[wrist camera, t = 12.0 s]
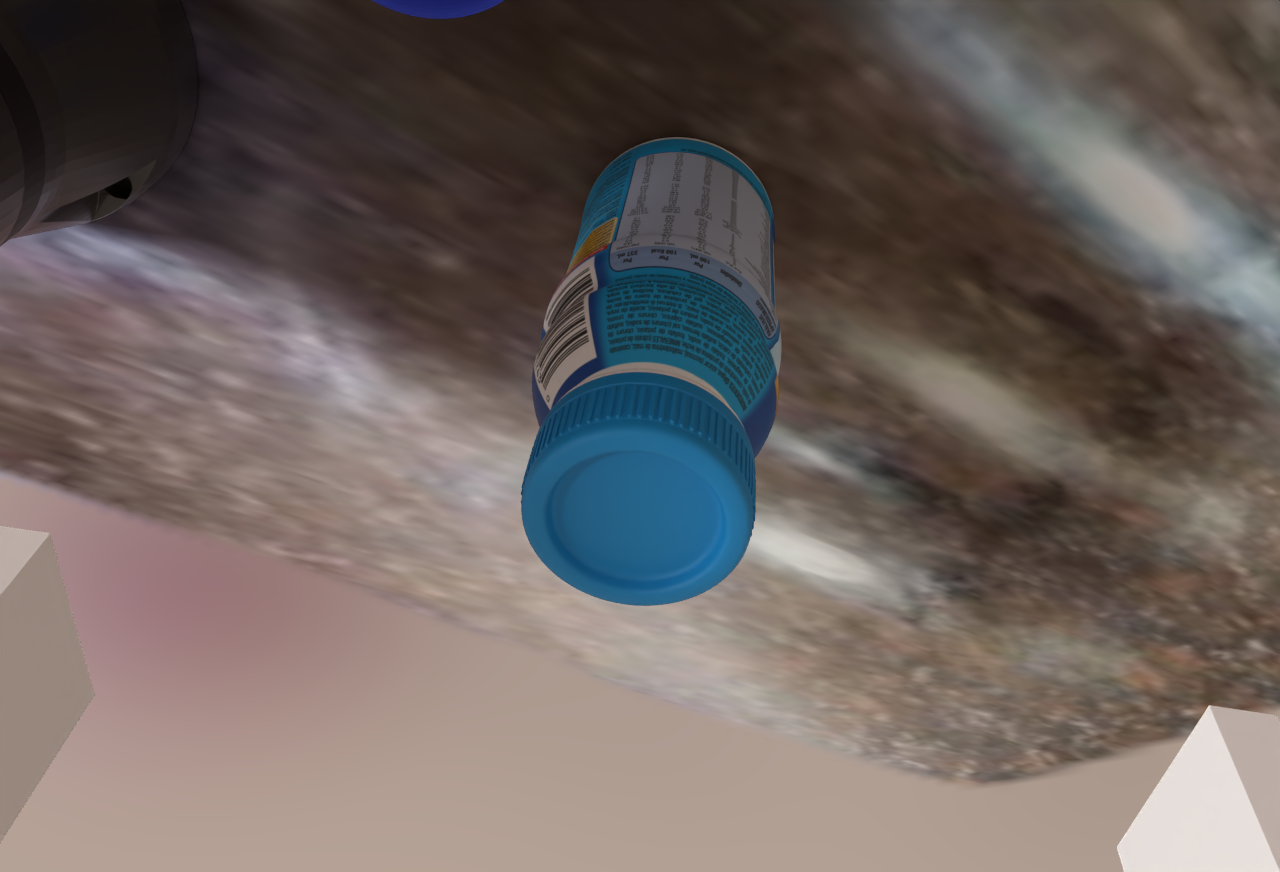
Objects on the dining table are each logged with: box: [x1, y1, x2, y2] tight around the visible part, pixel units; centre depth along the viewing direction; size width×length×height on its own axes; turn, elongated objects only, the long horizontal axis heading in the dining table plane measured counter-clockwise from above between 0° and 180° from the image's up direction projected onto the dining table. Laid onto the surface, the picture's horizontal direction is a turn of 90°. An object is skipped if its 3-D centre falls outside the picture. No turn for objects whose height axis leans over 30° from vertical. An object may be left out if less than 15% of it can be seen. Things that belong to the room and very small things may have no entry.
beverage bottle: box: [521, 137, 781, 606], centre depth 39 cm, size 8×8×20 cm
